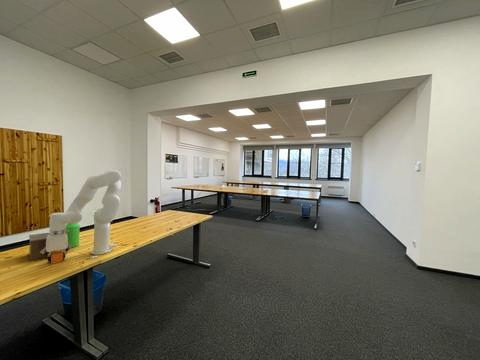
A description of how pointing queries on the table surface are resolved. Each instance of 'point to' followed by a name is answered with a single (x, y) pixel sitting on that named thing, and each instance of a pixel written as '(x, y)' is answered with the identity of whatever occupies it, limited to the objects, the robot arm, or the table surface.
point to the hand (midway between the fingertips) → (56, 260)
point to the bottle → (73, 234)
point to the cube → (56, 257)
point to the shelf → (37, 246)
